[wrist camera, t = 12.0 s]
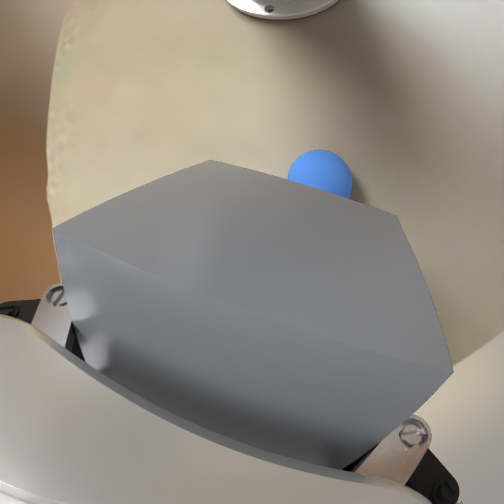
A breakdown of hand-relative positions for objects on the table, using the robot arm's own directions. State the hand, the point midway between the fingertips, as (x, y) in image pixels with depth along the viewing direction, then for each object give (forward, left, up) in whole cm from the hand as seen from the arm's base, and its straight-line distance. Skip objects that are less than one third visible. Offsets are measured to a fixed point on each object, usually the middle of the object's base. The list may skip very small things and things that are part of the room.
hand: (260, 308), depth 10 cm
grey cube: (0, 0, -3) cm, 3 cm away
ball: (-3, 0, -14) cm, 14 cm away
